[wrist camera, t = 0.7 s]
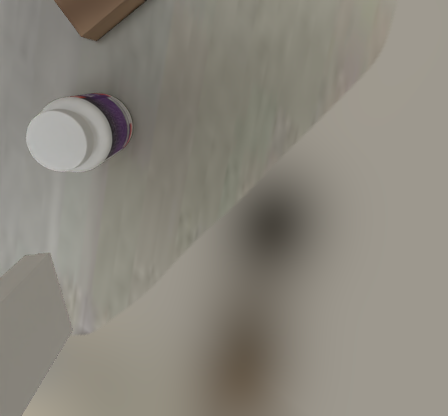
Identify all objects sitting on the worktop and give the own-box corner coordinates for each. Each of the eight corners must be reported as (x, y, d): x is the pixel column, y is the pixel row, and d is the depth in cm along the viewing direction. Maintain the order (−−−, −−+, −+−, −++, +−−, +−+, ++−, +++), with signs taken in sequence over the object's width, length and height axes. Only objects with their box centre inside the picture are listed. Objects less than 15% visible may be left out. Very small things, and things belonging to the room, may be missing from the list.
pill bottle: (104, 79, 32) (55, 80, 23) (146, 130, 34) (115, 149, 24) (60, 118, 33) (-4, 134, 24) (102, 166, 35) (57, 198, 26)
